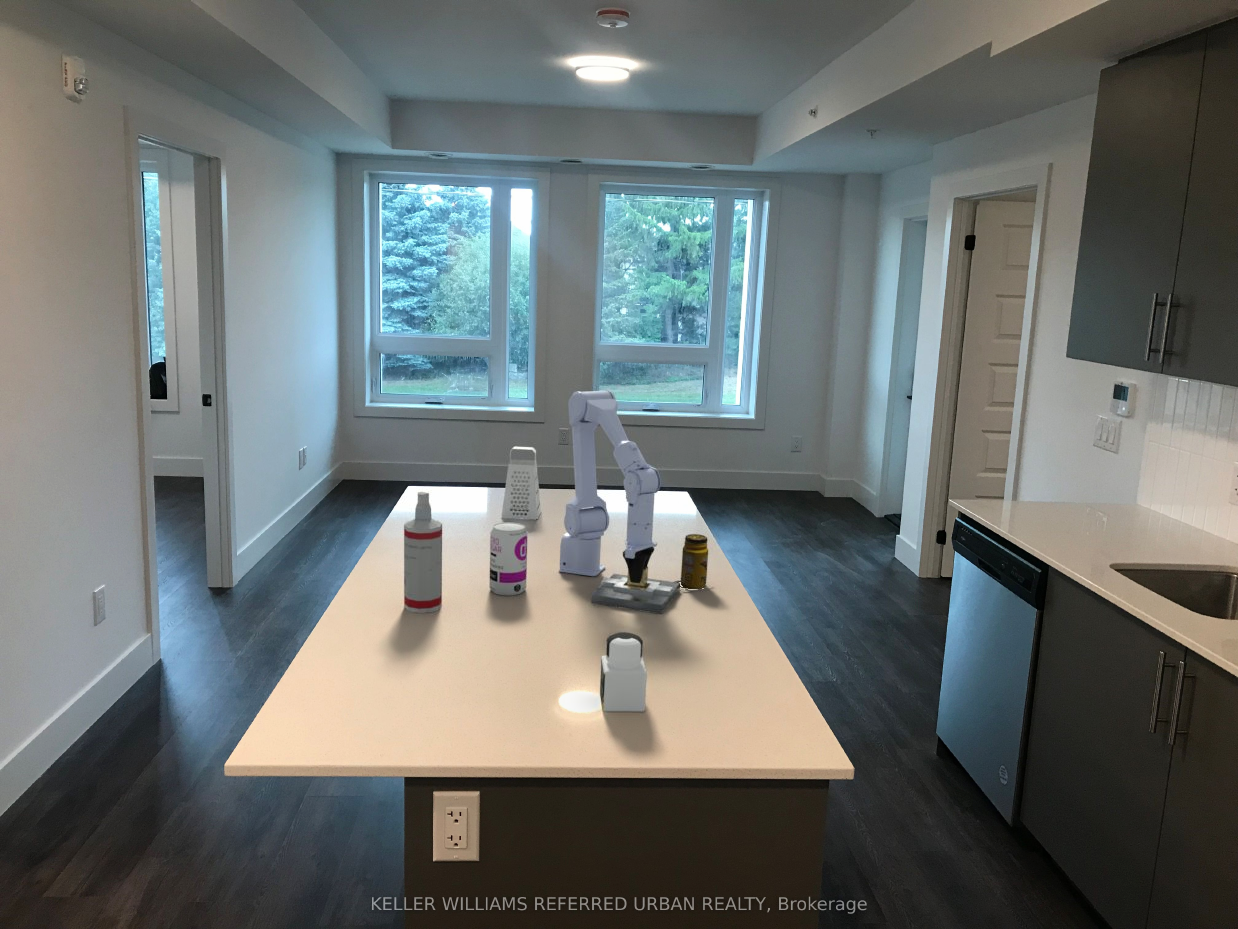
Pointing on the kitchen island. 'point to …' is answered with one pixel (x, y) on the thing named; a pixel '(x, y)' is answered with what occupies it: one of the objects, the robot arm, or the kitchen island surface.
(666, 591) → the bracket
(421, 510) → the spray bottle
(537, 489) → the grater
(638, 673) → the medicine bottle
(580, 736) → the kitchen island surface
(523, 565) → the supplement can
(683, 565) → the condiment
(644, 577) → the wooden rectangular block
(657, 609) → the grey square plate
